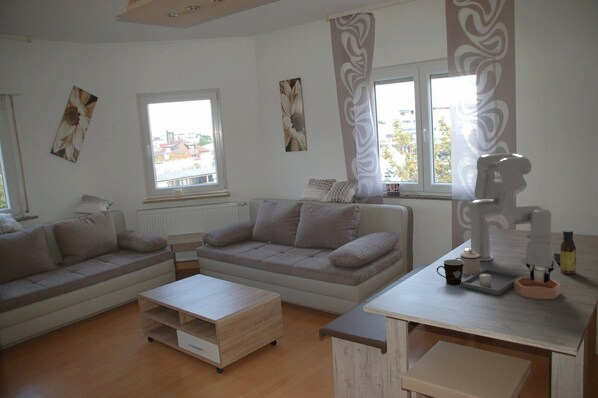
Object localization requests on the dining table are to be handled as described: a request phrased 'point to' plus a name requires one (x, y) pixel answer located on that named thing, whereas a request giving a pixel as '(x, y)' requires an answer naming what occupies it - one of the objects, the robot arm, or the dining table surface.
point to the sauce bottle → (568, 253)
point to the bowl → (537, 288)
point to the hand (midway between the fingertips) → (539, 280)
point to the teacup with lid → (470, 262)
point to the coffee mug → (452, 271)
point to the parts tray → (498, 282)
